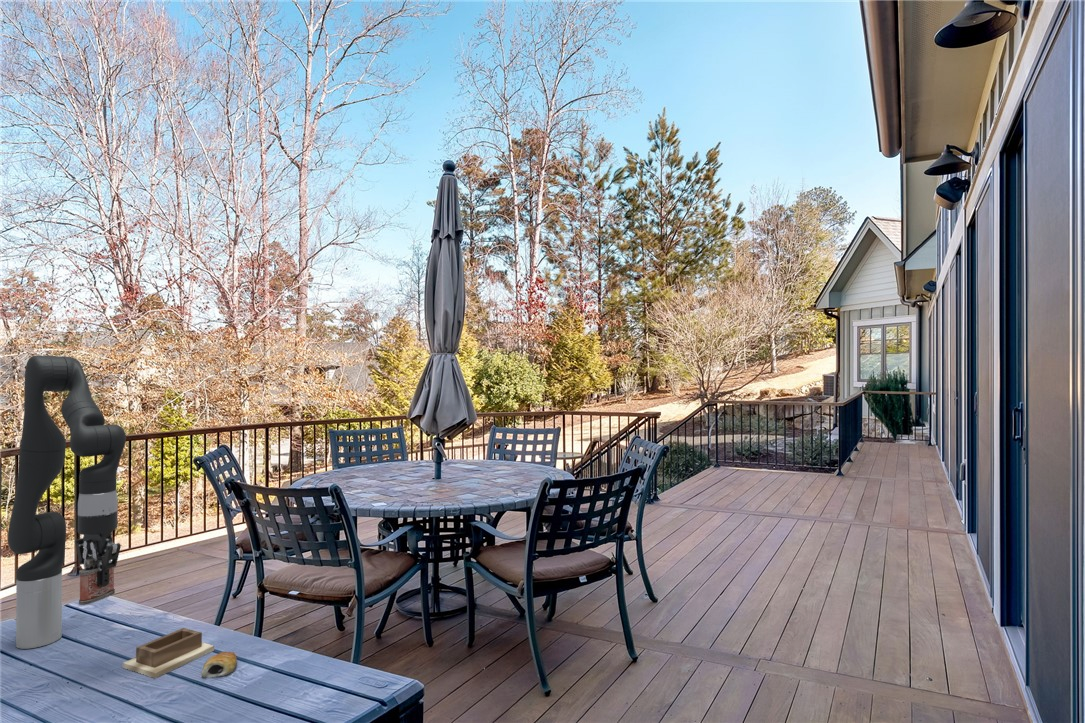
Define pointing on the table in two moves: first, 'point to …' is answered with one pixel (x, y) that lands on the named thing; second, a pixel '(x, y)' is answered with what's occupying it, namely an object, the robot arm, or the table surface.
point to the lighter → (94, 583)
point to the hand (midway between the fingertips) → (97, 584)
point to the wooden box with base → (168, 653)
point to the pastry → (219, 665)
